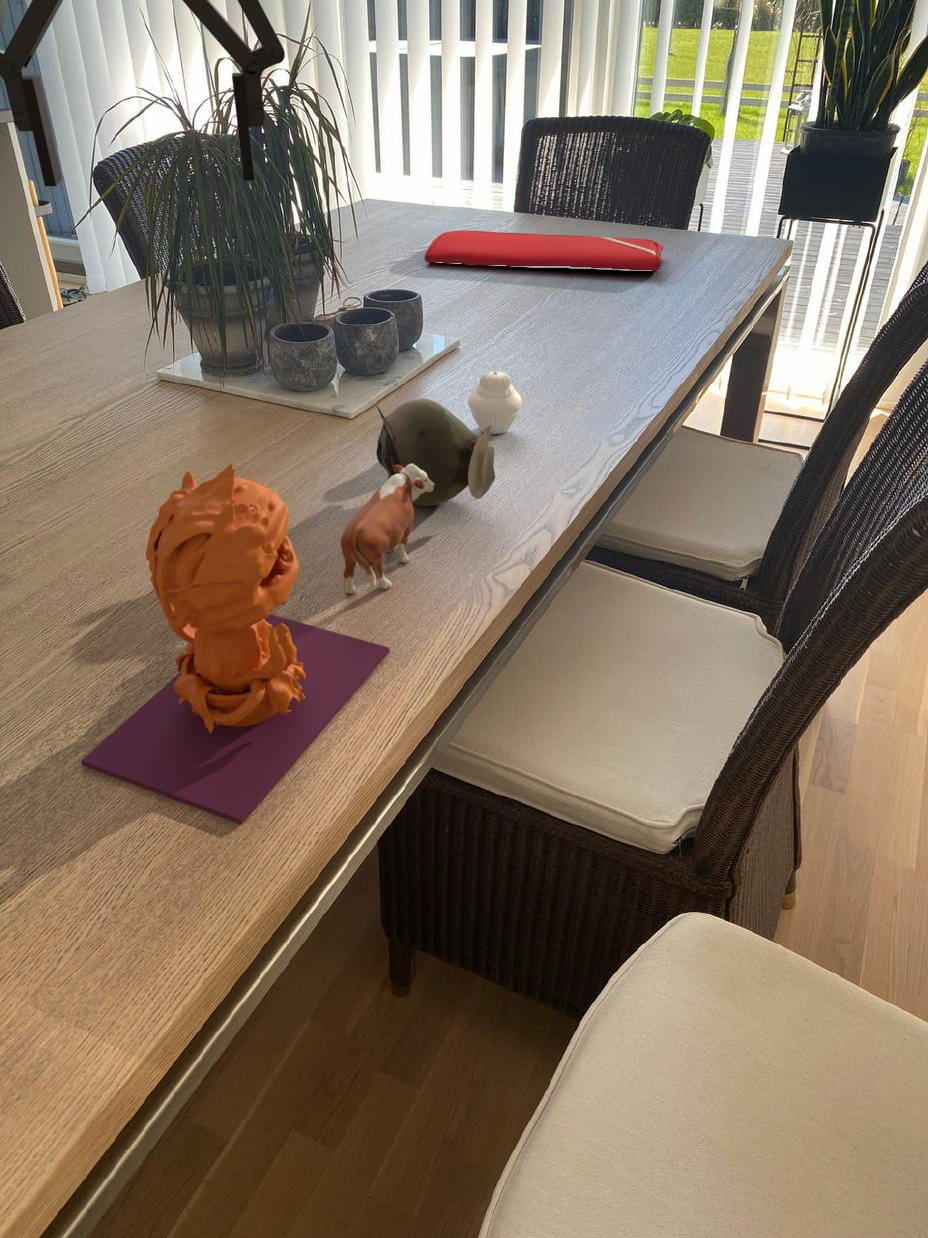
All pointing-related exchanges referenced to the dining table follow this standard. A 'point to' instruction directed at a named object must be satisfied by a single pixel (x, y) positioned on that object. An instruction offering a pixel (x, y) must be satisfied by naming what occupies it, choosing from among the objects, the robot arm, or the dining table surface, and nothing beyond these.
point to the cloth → (236, 731)
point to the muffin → (494, 402)
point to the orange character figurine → (227, 597)
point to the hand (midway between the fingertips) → (153, 180)
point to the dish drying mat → (544, 250)
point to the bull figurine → (383, 525)
